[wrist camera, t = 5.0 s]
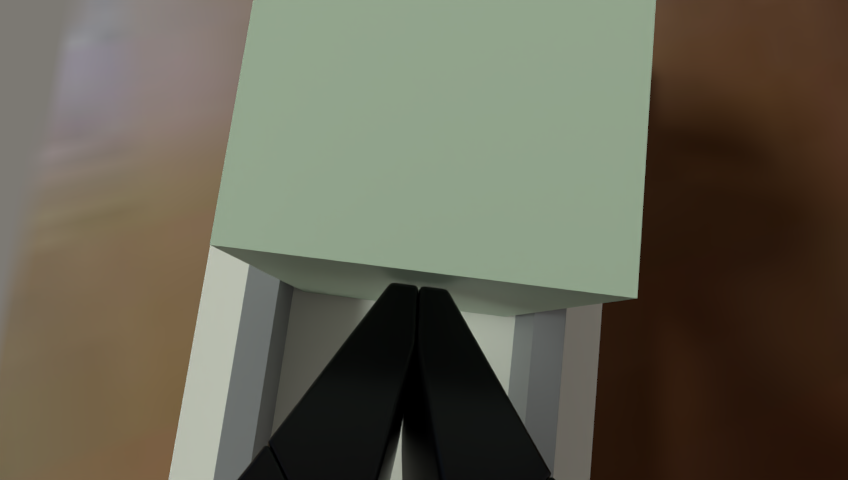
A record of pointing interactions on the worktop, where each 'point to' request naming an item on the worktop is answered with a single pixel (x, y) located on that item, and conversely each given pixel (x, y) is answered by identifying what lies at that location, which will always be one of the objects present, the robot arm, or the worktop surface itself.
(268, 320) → the housing
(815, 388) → the worktop surface
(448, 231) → the block
